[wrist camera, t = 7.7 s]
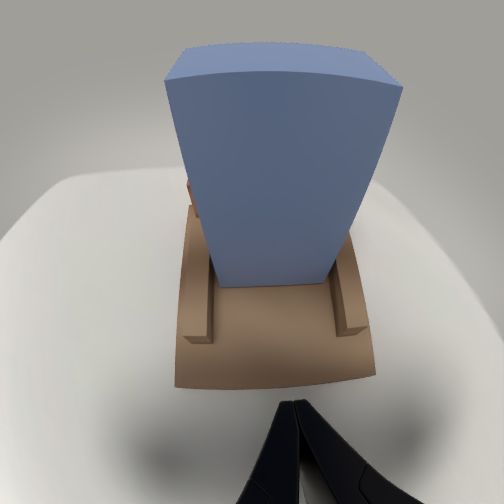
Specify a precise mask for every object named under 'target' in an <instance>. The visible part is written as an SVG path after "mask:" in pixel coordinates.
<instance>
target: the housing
mask: <svg viewBox="0 0 504 504" xmlns="http://www.w3.org/2000/svg"><path fill="white" fill-rule="evenodd" d="M187 188H188V192H189V195H190V198H191V202H192V205H189V210H188V217H187V225H186V233H185V241H184V250H183V259H182V268H181V279H180V290H179V303H178V317H177V334H176V356H175V387H177V388H190V389H221V390H238V389H269V388H285V387H297V386H308V385H317V384H325V383H332V382H339V381H346V380H352V379H358V378H364V377H369V376H373V375H376V371H375V363H374V355H373V347H372V340H371V334H370V327H369V321H368V315H367V310H366V304H365V299H364V294H363V289H362V284H361V279H360V275H359V270H358V266H357V261H356V257H355V253H354V249H353V245H352V241H351V237H350V233H349V232H348V234H347V236H346V238H345V240H344V242H343V245H342V247H341V249H340V251H339V253H338V255H337V257H336V259H335V261H334V263H333V265H332V267H331V269H330V271H329V273H328V275H327V277H326V279H325V281H324V283H316V284H299V285H279V286H255V287H225V288H220V285H219V281H218V278H217V275H216V272H215V269H214V266H213V262H212V259H211V256H210V253H209V249H208V246H207V243H206V239H205V236H204V233H203V229H202V226H201V222H200V219H199V215H198V212H197V209H196V205H195V201H194V198H193V194H192V191H191V187H190V183H189V180H188V181H187Z"/></svg>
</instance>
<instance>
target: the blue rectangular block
mask: <svg viewBox="0 0 504 504" xmlns="http://www.w3.org/2000/svg"><path fill="white" fill-rule="evenodd" d="M164 82H165V86H166V91H167V96H168V100H169V104H170V109H171V113H172V117H173V121H174V125H175V129H176V133H177V137H178V141H179V145H180V149H181V153H182V157H183V161H184V165H185V169H186V172H187V176H188V180H189V183H190V187H191V191H192V194H193V198H194V201H195V205H196V209H197V212H198V215H199V219H200V222H201V226H202V229H203V233H204V236H205V239H206V243H207V246H208V249H209V253H210V256H211V259H212V262H213V266H214V269H215V272H216V275H217V278H218V281H219V285H220V288H225V287H255V286H279V285H299V284H316V283H324V281H325V279H326V277H327V275H328V273H329V271H330V269H331V267H332V265H333V263H334V261H335V259H336V257H337V255H338V253H339V251H340V249H341V247H342V245H343V242H344V240H345V238H346V236H347V234H348V232H349V229H350V227H351V225H352V223H353V221H354V218H355V216H356V214H357V211H358V209H359V207H360V205H361V202H362V200H363V197H364V195H365V193H366V190H367V188H368V185H369V183H370V181H371V178H372V176H373V173H374V170H375V168H376V165H377V163H378V160H379V158H380V155H381V152H382V149H383V146H384V144H385V141H386V138H387V136H388V133H389V130H390V127H391V124H392V121H393V118H394V115H395V112H396V109H397V106H398V103H399V100H400V96H401V93H402V90H403V86H402V85H401V84H400V83H399V82H398V81H396V79H394V78H393V77H392V76H391V75H390V74H389V73H388V72H387V71H386V70H384V68H382V67H381V66H380V65H379V64H378V63H377V62H375V61H374V60H373V59H372V58H371V57H369V56H368V55H367V54H366V53H364V52H362V51H357V50H351V49H345V48H338V47H330V46H322V45H312V44H299V43H276V42H274V43H273V42H270V43H269V42H260V43H259V42H258V43H257V42H254V43H232V44H219V45H208V46H200V47H193V48H186V49H185V50H184V51H183V53H182V54H181V56H180V57H179V58H178V60H177V61H176V63H175V65H174V66H173V68H172V69H171V70H170V72H169V73H168V75H167V77H166V79H165V80H164Z"/></svg>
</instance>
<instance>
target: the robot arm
mask: <svg viewBox="0 0 504 504" xmlns="http://www.w3.org/2000/svg"><path fill="white" fill-rule="evenodd" d="M299 479H301V483H302V487H303V491H304V495H305V499H306V503H307V504H424V503H422V502H420V501H419V500H417V499H415V498H414V497H412V496H410V495H409V494H407V493H406V492H404V491H403V490H401V489H400V488H398V487H397V486H395V485H394V484H392V483H391V482H390V481H388V480H387V479H386V478H384V477H383V476H382V475H381V474H380V473H378V472H377V471H376V470H375V469H374V468H373V467H372V466H371V465H370V464H369V463H367V461H366V460H365V459H363V458H362V457H361V456H360V455H359V454H358V453H357V452H356V451H355V450H354V449H353V448H352V447H351V446H350V445H349V444H348V443H347V442H346V441H345V440H344V439H343V438H342V437H341V436H340V435H339V434H338V433H337V432H336V431H335V430H334V429H333V428H332V426H331V425H330V424H329V423H328V422H327V421H326V420H325V419H324V418H323V417H322V416H321V415H320V414H319V413H318V412H317V411H316V410H315V409H314V408H313V406H312V405H311V404H310V403H309V402H308V401H307V400H305V399H302V400H295V401H281V402H280V403H279V406H278V409H277V411H276V414H275V417H274V419H273V422H272V424H271V427H270V430H269V432H268V435H267V437H266V440H265V442H264V444H263V447H262V449H261V452H260V454H259V456H258V459H257V461H256V463H255V466H254V468H253V470H252V473H251V475H250V477H249V480H248V481H247V483H246V485H245V487H244V490H243V491H242V493H241V495H240V497H239V499H238V501H237V502H236V504H299Z"/></svg>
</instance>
